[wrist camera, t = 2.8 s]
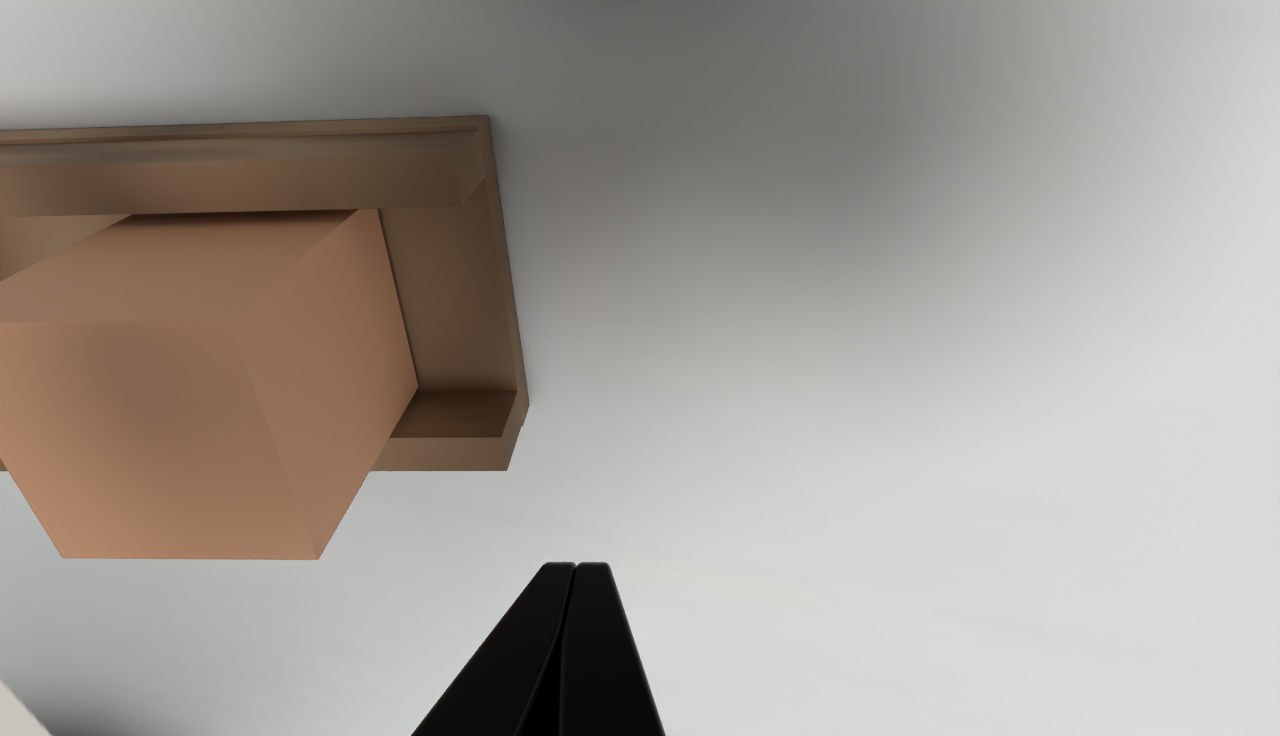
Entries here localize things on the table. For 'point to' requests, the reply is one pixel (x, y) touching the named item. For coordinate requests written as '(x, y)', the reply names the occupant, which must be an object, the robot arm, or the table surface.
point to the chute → (319, 180)
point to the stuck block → (203, 382)
